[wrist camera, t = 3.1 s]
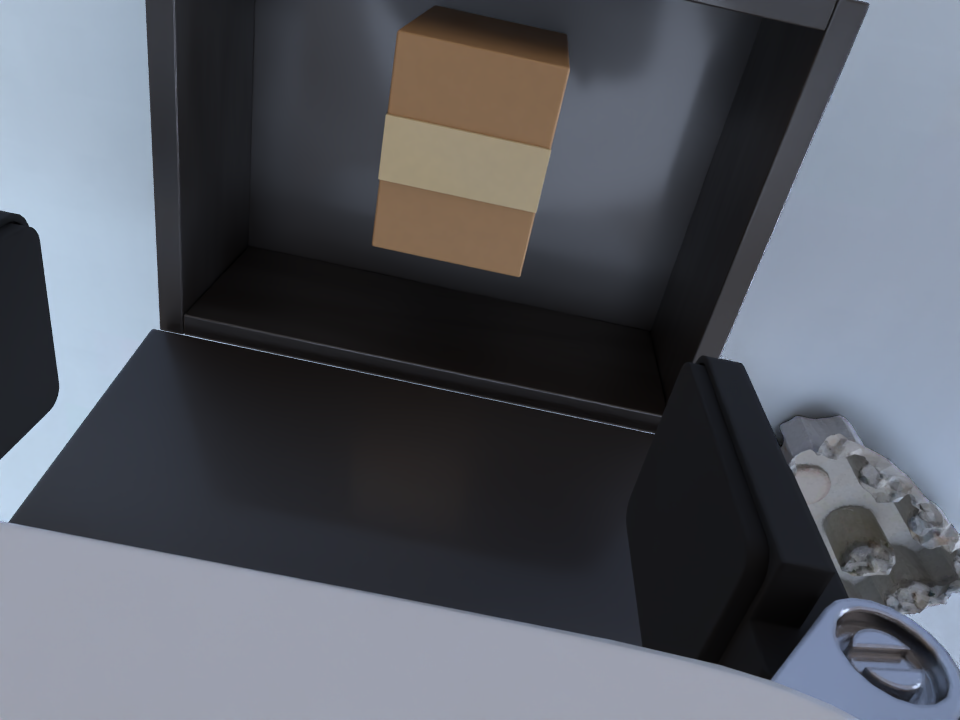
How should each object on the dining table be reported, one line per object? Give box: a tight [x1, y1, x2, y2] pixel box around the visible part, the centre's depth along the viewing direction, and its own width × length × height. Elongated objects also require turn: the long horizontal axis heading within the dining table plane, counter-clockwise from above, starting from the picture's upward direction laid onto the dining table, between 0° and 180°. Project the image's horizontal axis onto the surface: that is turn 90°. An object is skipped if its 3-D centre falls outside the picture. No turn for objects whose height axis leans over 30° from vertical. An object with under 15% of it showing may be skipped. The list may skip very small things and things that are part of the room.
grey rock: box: [780, 415, 960, 615], centre depth 32 cm, size 11×8×4 cm
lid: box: [8, 329, 655, 647], centre depth 20 cm, size 14×18×5 cm
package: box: [372, 5, 570, 277], centre depth 23 cm, size 6×4×7 cm
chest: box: [145, 0, 869, 433], centre depth 24 cm, size 14×18×7 cm
